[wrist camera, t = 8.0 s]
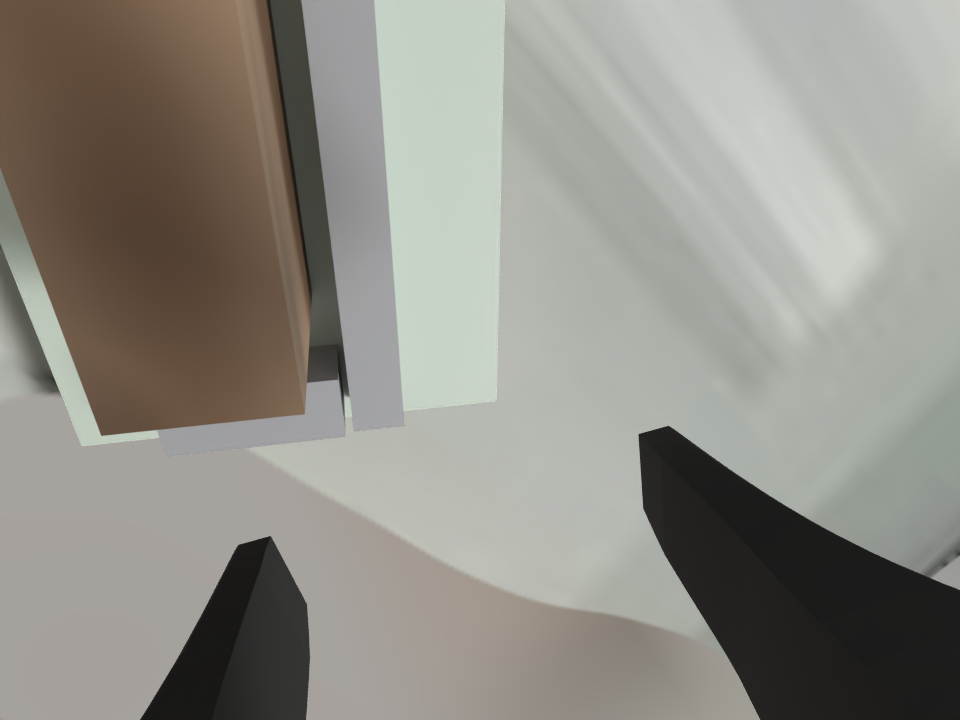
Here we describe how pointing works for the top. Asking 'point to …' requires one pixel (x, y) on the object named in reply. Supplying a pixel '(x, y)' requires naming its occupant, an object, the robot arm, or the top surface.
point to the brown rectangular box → (160, 204)
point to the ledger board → (365, 219)
